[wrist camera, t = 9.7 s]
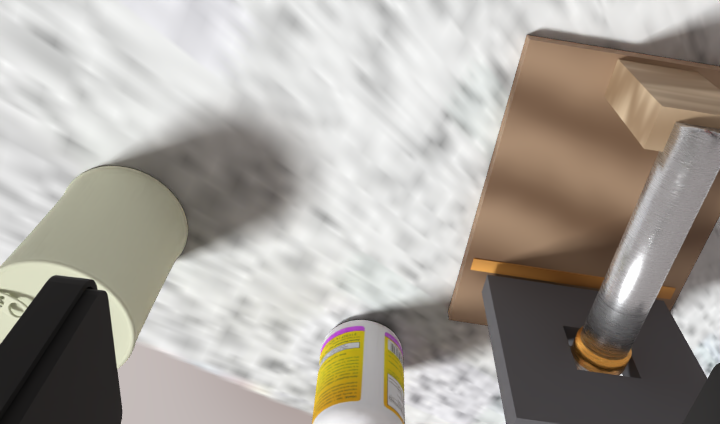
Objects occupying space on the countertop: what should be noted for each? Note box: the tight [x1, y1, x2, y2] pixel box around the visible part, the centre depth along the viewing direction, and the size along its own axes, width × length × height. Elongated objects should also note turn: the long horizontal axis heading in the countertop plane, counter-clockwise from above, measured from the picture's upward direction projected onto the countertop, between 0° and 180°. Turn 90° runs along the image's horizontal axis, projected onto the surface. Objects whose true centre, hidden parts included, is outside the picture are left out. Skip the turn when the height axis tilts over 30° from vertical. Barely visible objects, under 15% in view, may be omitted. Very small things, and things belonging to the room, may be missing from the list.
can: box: [0, 166, 188, 369], centre depth 43 cm, size 9×9×12 cm
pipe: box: [571, 122, 720, 375], centre depth 38 cm, size 20×3×3 cm, turn 171°
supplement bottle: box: [312, 320, 405, 424], centre depth 48 cm, size 7×7×13 cm
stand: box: [448, 35, 720, 349], centre depth 42 cm, size 22×16×8 cm
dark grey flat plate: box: [482, 275, 707, 424], centre depth 42 cm, size 2×13×13 cm, turn 81°
